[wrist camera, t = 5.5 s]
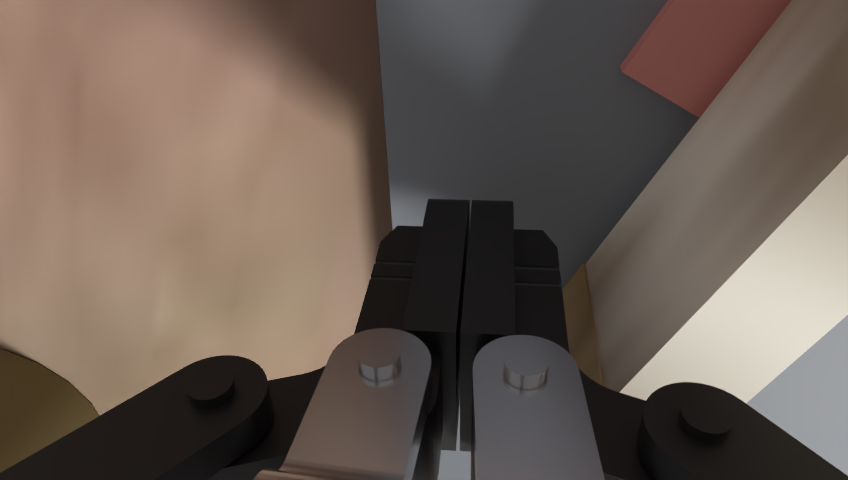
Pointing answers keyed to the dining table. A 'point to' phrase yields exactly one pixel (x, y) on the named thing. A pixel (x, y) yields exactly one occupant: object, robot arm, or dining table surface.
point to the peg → (732, 229)
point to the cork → (35, 408)
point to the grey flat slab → (576, 136)
